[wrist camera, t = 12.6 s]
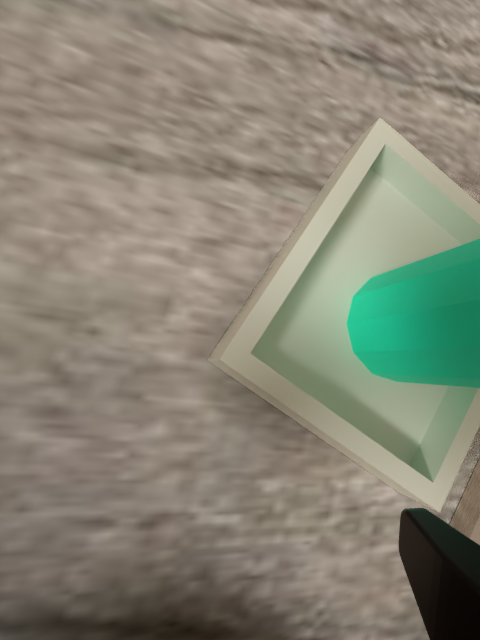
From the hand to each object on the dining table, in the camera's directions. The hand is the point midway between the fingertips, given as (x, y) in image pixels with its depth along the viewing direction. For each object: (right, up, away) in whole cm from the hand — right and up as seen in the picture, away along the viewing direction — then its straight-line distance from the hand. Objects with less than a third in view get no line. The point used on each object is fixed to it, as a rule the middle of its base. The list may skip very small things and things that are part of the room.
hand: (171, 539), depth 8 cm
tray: (+9, +5, +15) cm, 18 cm away
